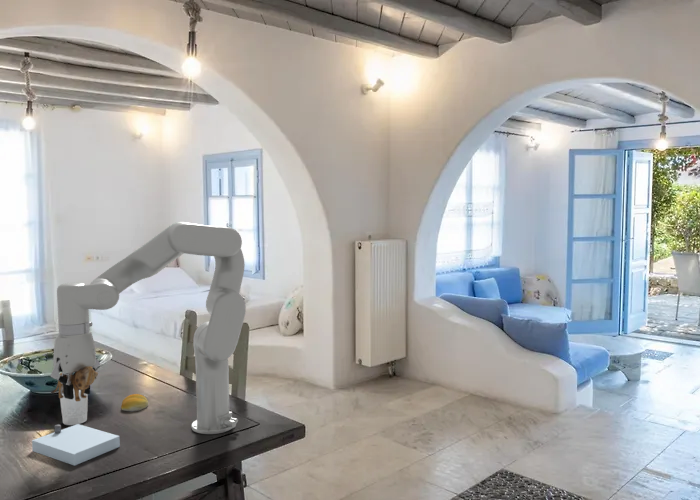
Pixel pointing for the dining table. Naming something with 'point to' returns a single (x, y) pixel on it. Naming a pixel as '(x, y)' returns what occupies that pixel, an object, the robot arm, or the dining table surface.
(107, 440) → the plinth
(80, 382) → the lion figurine
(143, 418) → the dining table surface
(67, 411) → the white cup
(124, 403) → the bread roll
